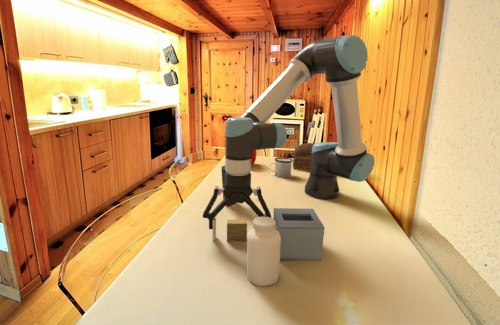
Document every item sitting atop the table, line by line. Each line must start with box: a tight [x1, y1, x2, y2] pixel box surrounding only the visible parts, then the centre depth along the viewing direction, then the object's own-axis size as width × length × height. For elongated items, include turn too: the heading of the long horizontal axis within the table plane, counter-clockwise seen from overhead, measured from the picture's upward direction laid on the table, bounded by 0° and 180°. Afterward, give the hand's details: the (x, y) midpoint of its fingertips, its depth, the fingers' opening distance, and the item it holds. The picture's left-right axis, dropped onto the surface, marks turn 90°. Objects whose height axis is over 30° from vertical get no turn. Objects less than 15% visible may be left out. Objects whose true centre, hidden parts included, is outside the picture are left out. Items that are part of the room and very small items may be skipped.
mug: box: [269, 156, 293, 179], centre depth 152 cm, size 12×10×9 cm
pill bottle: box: [246, 216, 281, 287], centre depth 68 cm, size 8×8×15 cm
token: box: [226, 219, 248, 243], centre depth 86 cm, size 6×2×6 cm, turn 92°
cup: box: [221, 165, 237, 207], centre depth 112 cm, size 7×7×15 cm
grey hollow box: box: [272, 207, 325, 262], centre depth 82 cm, size 12×12×10 cm
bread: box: [292, 142, 316, 172], centre depth 164 cm, size 15×32×16 cm, turn 69°
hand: (236, 238), depth 87 cm, fingers open, 13 cm apart
